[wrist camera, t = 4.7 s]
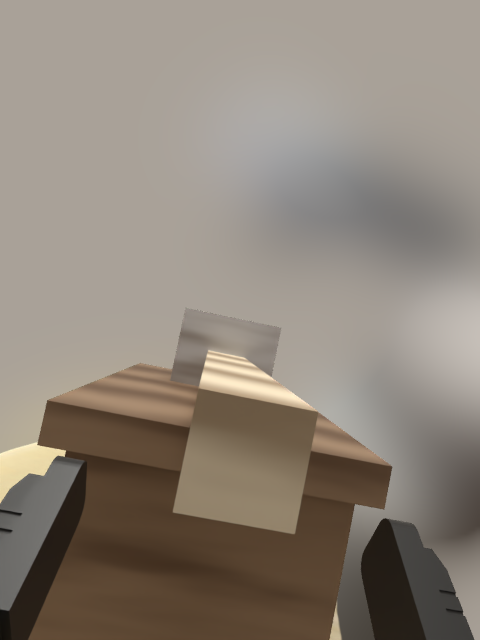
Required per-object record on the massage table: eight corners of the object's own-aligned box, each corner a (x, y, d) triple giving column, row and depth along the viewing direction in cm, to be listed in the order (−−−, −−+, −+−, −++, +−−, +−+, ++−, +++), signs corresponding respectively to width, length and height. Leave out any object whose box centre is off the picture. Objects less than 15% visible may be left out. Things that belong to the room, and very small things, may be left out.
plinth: (255, 1206, 18) (392, 466, 20) (-128, 1174, 17) (47, 400, 19) (230, 709, 42) (293, 393, 43) (70, 684, 41) (140, 363, 43)
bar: (393, 551, 10) (436, 313, 11) (67, 493, 10) (122, 245, 10) (256, 387, 42) (268, 329, 42) (178, 371, 42) (190, 312, 42)
